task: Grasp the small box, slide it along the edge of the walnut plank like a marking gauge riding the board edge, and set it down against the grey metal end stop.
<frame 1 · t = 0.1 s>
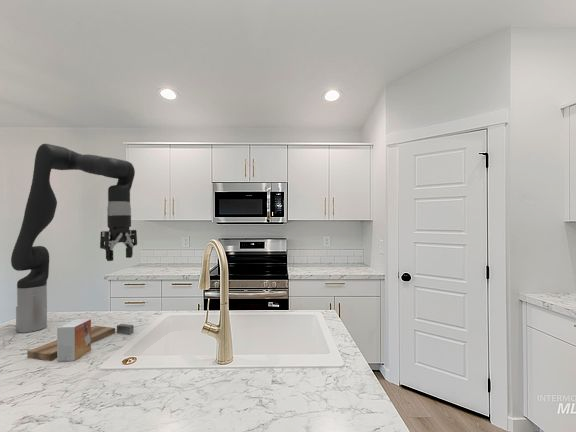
hand: (119, 259, 110), 29 cm above the countertop, tool pointing down, fingers open, 8 cm apart
end stop: (125, 333, 117), on the countertop
plank: (75, 344, 107), on the countertop
small box: (74, 356, 98), on the countertop
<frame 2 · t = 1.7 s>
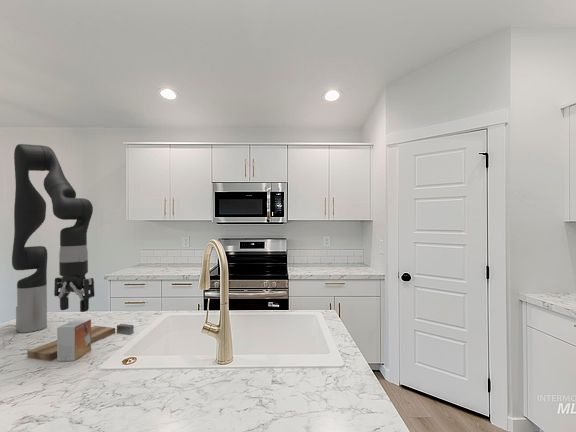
hand: (74, 310, 98), 14 cm above the countertop, tool pointing down, fingers open, 8 cm apart
nothing on the countertop moved.
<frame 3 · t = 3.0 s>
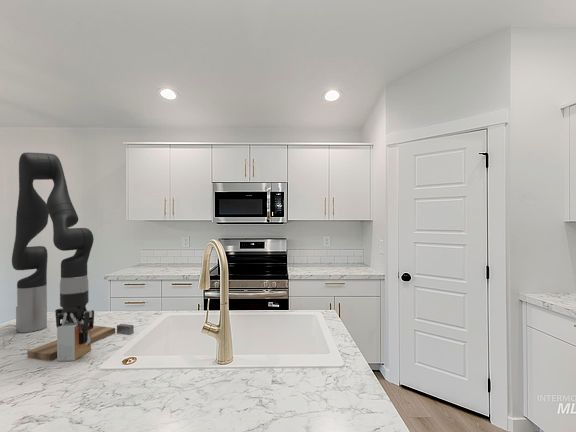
hand: (74, 342, 98), 4 cm above the countertop, tool pointing down, fingers closed on small box, 6 cm apart
small box: (74, 356, 98), on the countertop, touching gripper
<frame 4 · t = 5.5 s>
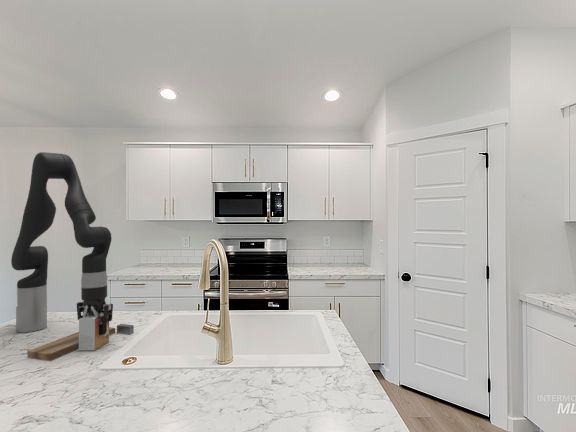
hand: (94, 333, 105), 5 cm above the countertop, tool pointing down, fingers closed on small box, 6 cm apart
small box: (94, 346, 105), on the countertop, touching gripper
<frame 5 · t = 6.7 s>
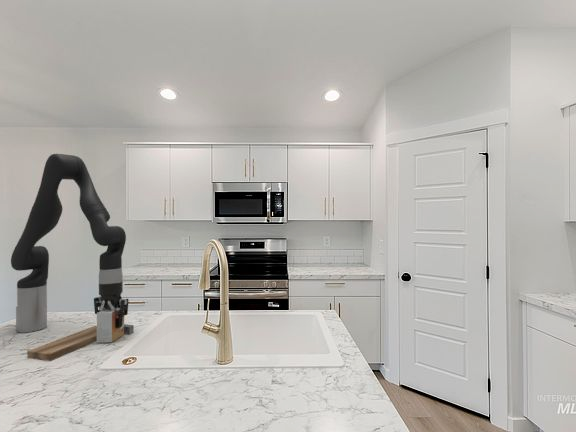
hand: (111, 326, 111), 5 cm above the countertop, tool pointing down, fingers closed on small box, 6 cm apart
small box: (110, 339, 111), on the countertop, touching gripper
when the fingers open (4 cm above the countertop, at t = 7.9 s): small box stays where it is, on the countertop.
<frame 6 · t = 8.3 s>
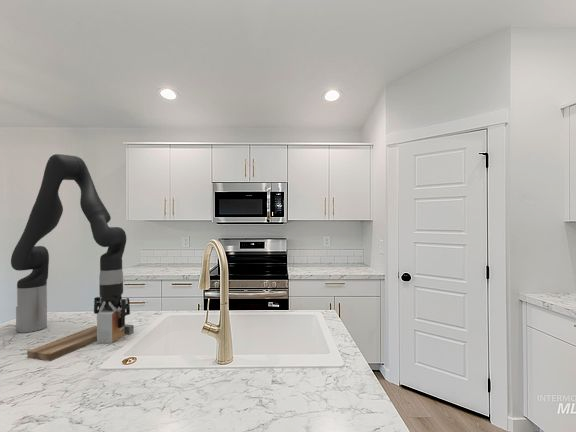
hand: (111, 326, 111), 5 cm above the countertop, tool pointing down, fingers open, 8 cm apart
small box: (111, 339, 111), on the countertop
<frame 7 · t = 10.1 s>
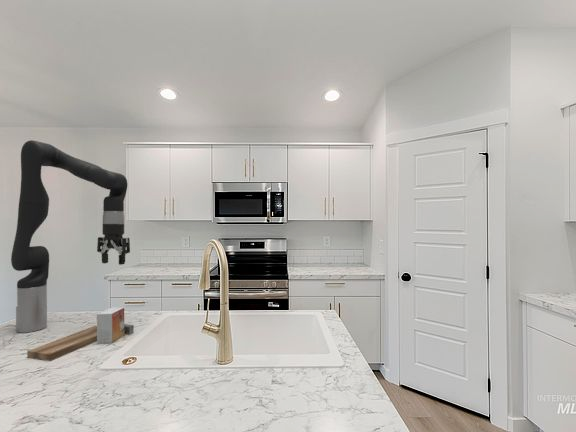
hand: (113, 263, 121), 26 cm above the countertop, tool pointing down, fingers open, 8 cm apart
nothing on the countertop moved.
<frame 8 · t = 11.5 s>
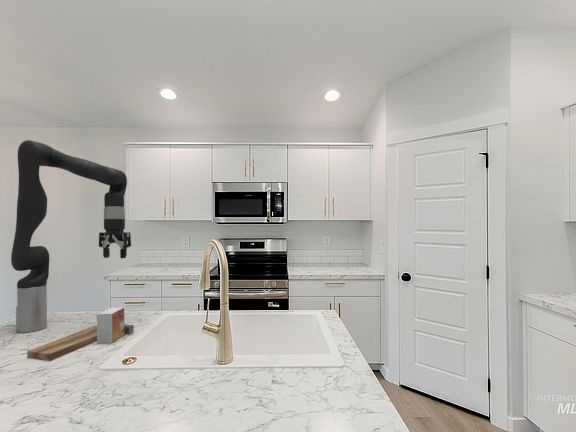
hand: (114, 257, 124), 28 cm above the countertop, tool pointing down, fingers open, 8 cm apart
nothing on the countertop moved.
at the end: small box 0.2 cm from the target spot, on the countertop; small box tilted 0°; the gripper is holding nothing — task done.
